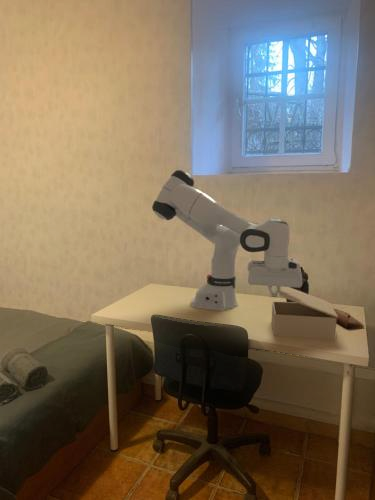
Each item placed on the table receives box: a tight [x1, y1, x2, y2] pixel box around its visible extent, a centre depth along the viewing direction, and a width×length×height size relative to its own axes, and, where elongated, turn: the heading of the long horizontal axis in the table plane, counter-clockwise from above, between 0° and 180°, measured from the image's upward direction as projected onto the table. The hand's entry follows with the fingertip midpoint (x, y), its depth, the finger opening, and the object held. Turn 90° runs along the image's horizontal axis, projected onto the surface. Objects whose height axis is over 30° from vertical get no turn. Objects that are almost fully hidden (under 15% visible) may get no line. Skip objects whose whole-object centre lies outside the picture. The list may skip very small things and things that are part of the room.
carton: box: [271, 300, 337, 342], centre depth 149 cm, size 22×16×10 cm
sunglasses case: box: [332, 307, 365, 330], centre depth 161 cm, size 18×7×7 cm
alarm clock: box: [285, 266, 310, 302], centre depth 176 cm, size 14×7×20 cm, turn 144°
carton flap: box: [278, 287, 338, 318], centre depth 147 cm, size 22×16×1 cm
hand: (273, 296), depth 147 cm, fingers closed
